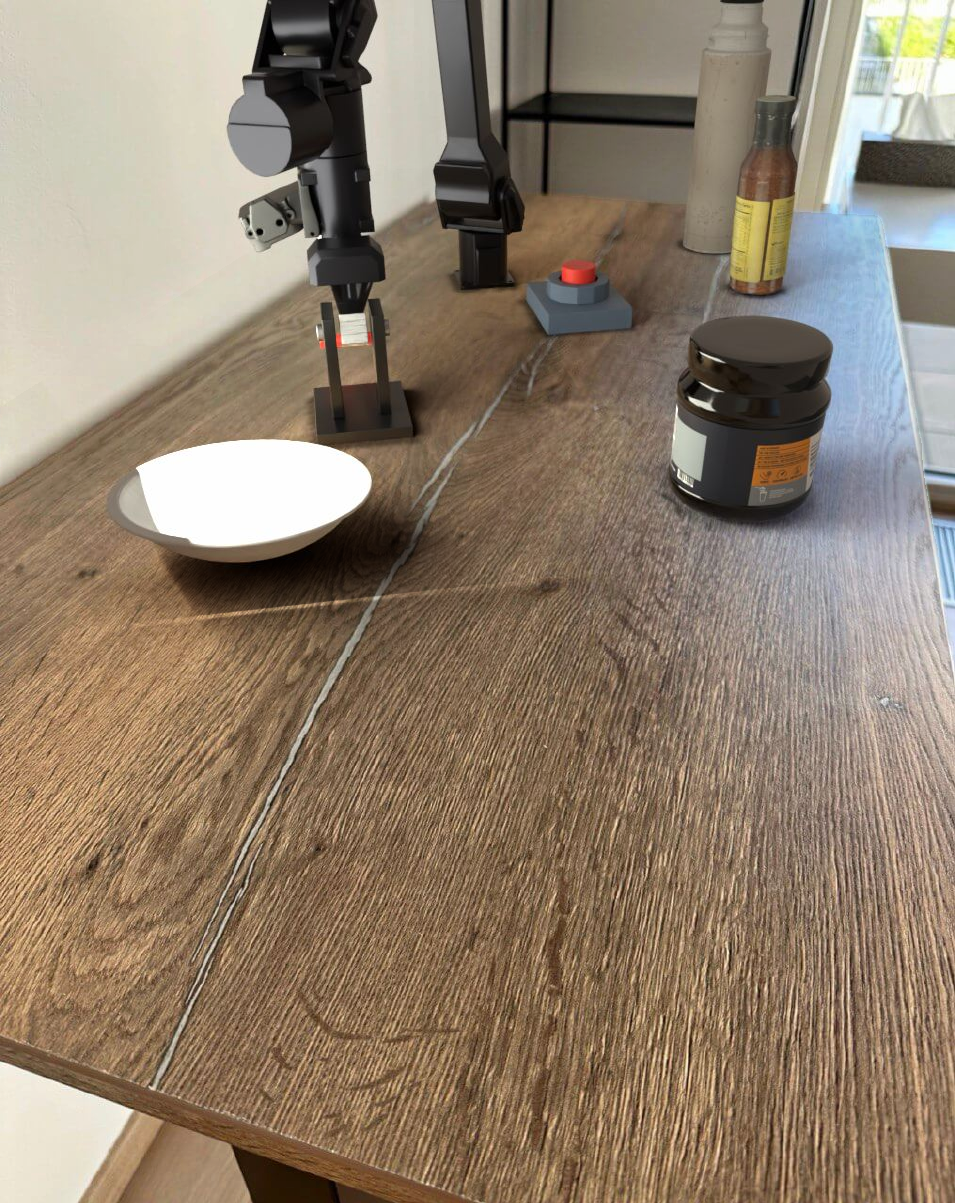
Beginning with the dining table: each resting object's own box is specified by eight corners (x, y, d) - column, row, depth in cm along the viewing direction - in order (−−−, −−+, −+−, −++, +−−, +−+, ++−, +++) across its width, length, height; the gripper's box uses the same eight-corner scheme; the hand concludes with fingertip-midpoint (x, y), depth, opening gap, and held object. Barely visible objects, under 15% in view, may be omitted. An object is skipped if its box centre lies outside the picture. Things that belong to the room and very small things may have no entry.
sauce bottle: (778, 280, 113) (808, 92, 101) (786, 298, 108) (819, 101, 96) (721, 280, 113) (745, 92, 102) (727, 297, 108) (753, 102, 97)
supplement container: (839, 511, 69) (876, 352, 62) (713, 541, 67) (737, 378, 60) (756, 450, 78) (780, 304, 71) (641, 474, 75) (654, 324, 68)
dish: (92, 611, 61) (71, 545, 58) (157, 499, 73) (143, 440, 70) (365, 609, 61) (358, 543, 58) (387, 497, 73) (382, 437, 70)
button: (558, 277, 104) (558, 261, 103) (590, 275, 104) (590, 258, 103) (565, 287, 101) (566, 271, 100) (599, 285, 101) (599, 268, 100)
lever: (321, 355, 91) (318, 329, 90) (384, 350, 91) (381, 324, 91) (318, 346, 78) (314, 316, 77) (391, 340, 79) (388, 310, 78)
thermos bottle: (737, 236, 128) (770, -11, 112) (750, 253, 122) (787, -6, 106) (678, 237, 129) (702, -9, 112) (688, 254, 122) (715, -5, 106)
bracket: (314, 399, 88) (301, 293, 82) (401, 392, 89) (394, 286, 83) (318, 448, 80) (303, 333, 74) (413, 439, 81) (406, 325, 75)
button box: (526, 301, 109) (526, 265, 106) (603, 295, 110) (605, 260, 107) (547, 335, 100) (548, 297, 97) (631, 328, 101) (634, 290, 99)
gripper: (239, 136, 87) (265, 306, 96) (230, 181, 72) (262, 378, 81) (362, 129, 88) (376, 298, 97) (378, 173, 73) (393, 367, 82)
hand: (351, 332), depth 89 cm, fingers closed
